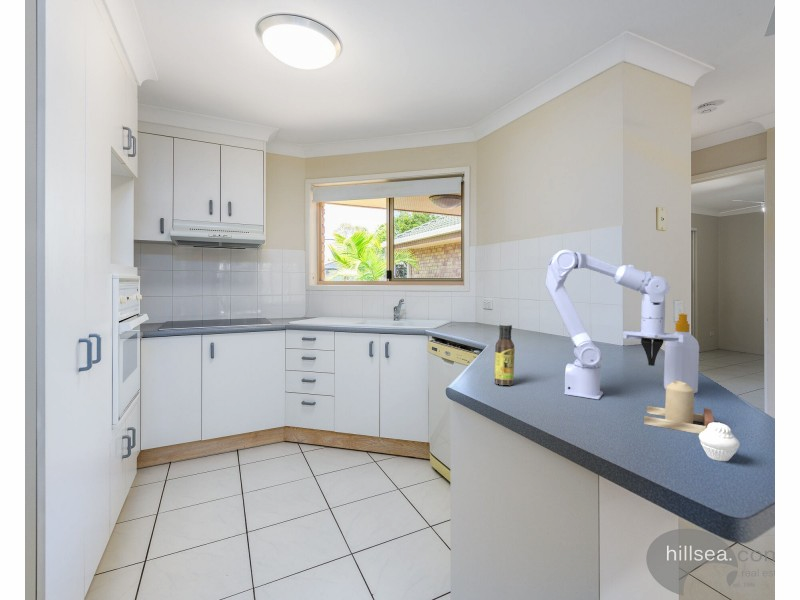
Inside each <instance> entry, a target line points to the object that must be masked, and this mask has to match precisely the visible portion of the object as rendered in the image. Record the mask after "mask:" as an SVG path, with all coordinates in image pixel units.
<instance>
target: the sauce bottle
mask: <svg viewBox="0 0 800 600" xmlns="http://www.w3.org/2000/svg"><path fill="white" fill-rule="evenodd" d="M498 329H499V336H498V337H499V339H498V340H497V341H496V344H495V352H494V371H493V373H494V375H493V376H494V384H495V383H496V384H495V385H498V384H499V385H498V386H503V385H509V386H512V385H513V384H514V378H515V344H514V342H513V340H512V329H513V325H512V324H507V323H501V324H499V326H498Z"/></svg>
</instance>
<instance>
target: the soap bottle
mask: <svg viewBox="0 0 800 600" xmlns="http://www.w3.org/2000/svg"><path fill="white" fill-rule="evenodd" d="M690 326H691V325H690V323H689V321H688V314H685V313H681V312H680V313H679V314H678V320H677V322H676V323H675V330H674V331H675V332H674V333H673V334H678V335H684V338H683V343H682V342H674V341H665V342H664V343H665V344H664V363H663V364H664V365H663V366H664V370H663V389H664V390H666V386H667V385H669V384H670V383H672V382H673V381H681V382H683V383H686V384H687V385H689V386H690V387H692V388H693V389H694V394H697V393H698V392H699V391H698V390H699V389H698V388H699V366H700V365H699V364H700V363H699V362H700V360H699V359H700V345H699V341H698V340H697V339H696V338H695V336H694V335H693V334H690Z"/></svg>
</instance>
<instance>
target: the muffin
mask: <svg viewBox="0 0 800 600" xmlns="http://www.w3.org/2000/svg"><path fill="white" fill-rule="evenodd" d="M698 439H699V441H700V445H701V446H702V448H703V450H704V452H705V454H706V455H707V457H708V458H710V459H711V460H715V461H718V462H729V460H731V459H732V457H733V456H734V455H735V454H736V452H737V450H738V449H739V447H740V441H739V440H738V439H737V437H735V435H734V433H732V429H731V428H730V426H729V425H727V424H725V423H721V422H715V421H714V422H713V423H710V424H708V426H707V428H706V429H705V431H702V432H701V433H700V434H698Z"/></svg>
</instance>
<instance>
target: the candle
mask: <svg viewBox="0 0 800 600" xmlns="http://www.w3.org/2000/svg"><path fill="white" fill-rule="evenodd" d="M694 405H695V393H694V389H693V388H692V387H690V386H689V385H687V384H686V383H683V382H681V381H673V382H672V383H670V384H669V385H667V386H666V389H665V406H664V408H665V416H664V419H666V420H672V421H678V422H684V423H690V424H694V421H693V413H694V411H695V410H694V409H695V408H694V407H695V406H694Z"/></svg>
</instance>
